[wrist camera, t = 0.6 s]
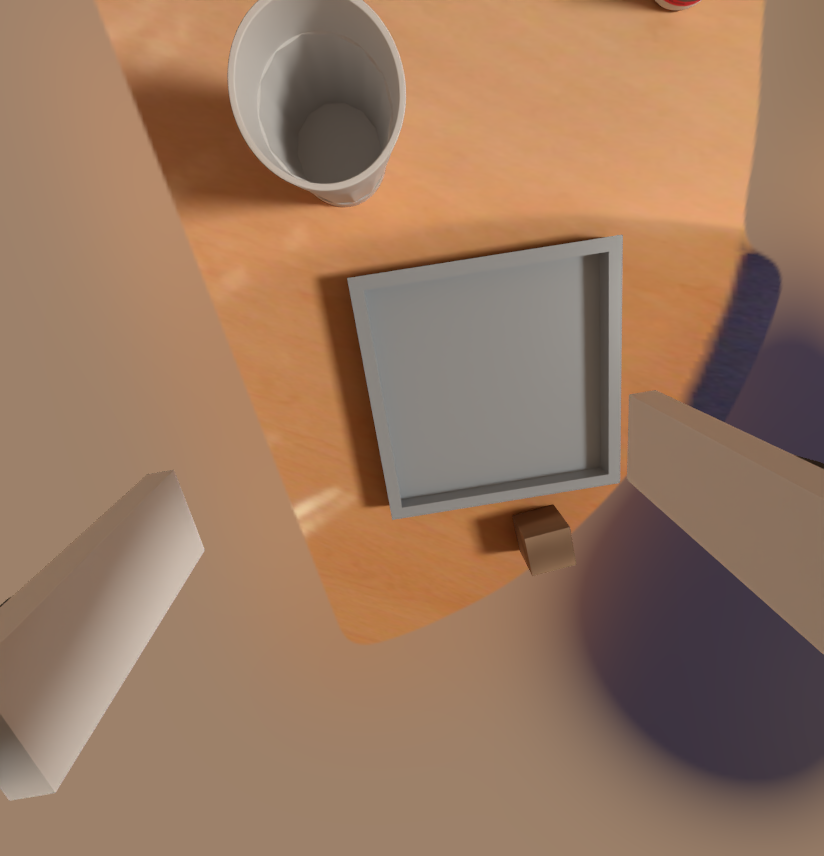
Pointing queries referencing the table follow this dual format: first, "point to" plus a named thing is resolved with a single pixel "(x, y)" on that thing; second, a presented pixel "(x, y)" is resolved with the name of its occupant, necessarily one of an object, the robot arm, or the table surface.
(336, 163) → the cup
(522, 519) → the walnut block
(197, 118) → the table surface
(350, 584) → the table surface
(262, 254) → the table surface
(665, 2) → the pill bottle
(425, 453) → the tray
